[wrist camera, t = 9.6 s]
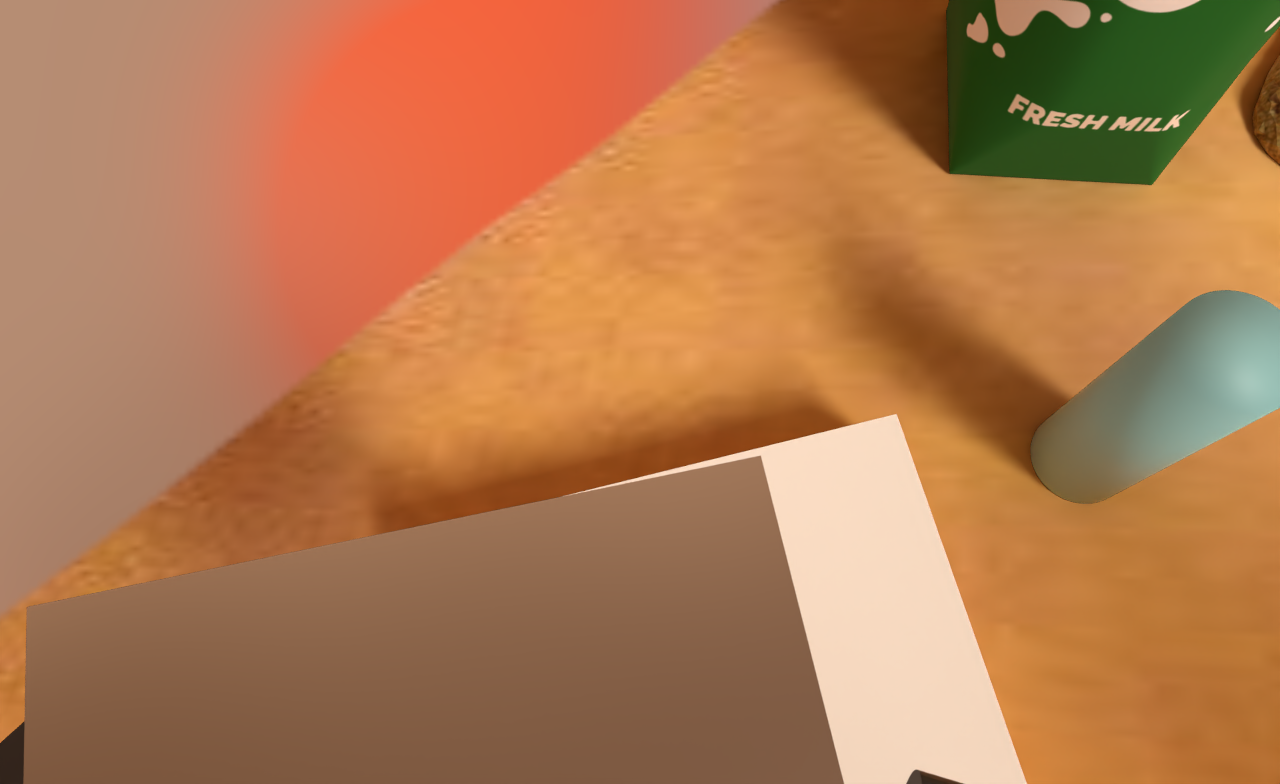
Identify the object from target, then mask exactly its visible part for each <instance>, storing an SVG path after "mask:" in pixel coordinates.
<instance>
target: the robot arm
mask: <svg viewBox="0 0 1280 784" xmlns="http://www.w3.org/2000/svg"><path fill="white" fill-rule="evenodd" d="M24 730H25V721H24V722H23V723H22V724H21V725H20V726H19V727H18V728H17V729H15V730H14V731H13V732H12V733H11V734H10V735H9V736H8V737H7V738H5V739H4V740H3V741H2V742H1V743H0V784H23V780H24ZM906 784H964V783H960V782H957V781H954V780H950V779H947V778H944V777H940V776H937V775H934V774H930V773H927V772H924V771H920V770H917V769H916V770H914V771H913V772H912V773H911V775H910V777H909V779H908V781H907V783H906Z"/></svg>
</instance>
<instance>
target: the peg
mask: <svg viewBox="0 0 1280 784" xmlns="http://www.w3.org/2000/svg"><path fill="white" fill-rule="evenodd" d="M1279 408H1280V310H1279V309H1278V308H1277V307H1275V306H1274V305H1272V304H1271V303H1269V302H1267V301H1265V300H1264V299H1262V298H1259V297H1257V296H1254V295H1251V294H1248V293H1244V292H1239V291H1230V290H1222V291H1213V292H1209V293H1205V294H1202V295H1200V296H1198V297H1196V298H1194V299H1192V300H1191V301H1189V302H1188V303H1187V304H1185V305H1184V306H1183V307H1182V308H1181V309H1179V310H1178V311H1177V312H1176V313H1175V314H1173V315H1172V316H1171V317H1170V318H1169V319H1167V320H1166V321H1165V322H1164V323H1162V324H1161V325H1160V326H1159V327H1158V328H1156V329H1155V330H1154V331H1153V332H1152V333H1150V334H1149V335H1148V336H1147V337H1146V338H1144V339H1143V340H1142V341H1141V342H1139V343H1138V344H1137V345H1136V346H1135V347H1133V348H1132V349H1131V350H1130V351H1129V352H1127V353H1126V354H1125V355H1124V356H1123V357H1121V358H1120V359H1119V360H1118V361H1117V362H1115V363H1114V364H1113V365H1112V366H1110V367H1109V368H1108V369H1107V370H1106V371H1104V372H1103V373H1102V374H1101V375H1100V376H1098V377H1097V378H1096V379H1095V380H1094V381H1092V382H1091V383H1090V384H1089V385H1088V386H1086V387H1085V388H1084V389H1083V390H1081V391H1080V392H1079V393H1078V394H1077V395H1075V396H1074V397H1073V398H1072V399H1071V400H1069V401H1068V402H1067V403H1066V404H1065V405H1063V406H1062V407H1061V408H1060V409H1059V410H1057V411H1056V412H1055V413H1054V414H1052V415H1051V416H1050V417H1049V418H1048V419H1046V420H1045V421H1044V422H1043V423H1042V424H1041V425H1040V426H1039V427H1038V429H1037V430H1036V432H1035V433H1034V436H1033V438H1032V442H1031V449H1030V453H1031V461H1032V465H1033V468H1034V470H1035V472H1036V474H1037V476H1038V477H1039V479H1040V480H1041V482H1042V483H1043V484H1044V485H1045V486H1046V487H1047V488H1048V489H1049V490H1050V491H1052V492H1053V493H1054V494H1056V495H1057V496H1059V497H1061V498H1063V499H1065V500H1068V501H1071V502H1075V503H1083V504H1089V503H1096V502H1100V501H1103V500H1105V499H1107V498H1109V497H1111V496H1113V495H1115V494H1117V493H1119V492H1121V491H1123V490H1125V489H1127V488H1128V487H1130V486H1132V485H1134V484H1136V483H1138V482H1140V481H1142V480H1144V479H1146V478H1147V477H1149V476H1151V475H1153V474H1155V473H1157V472H1159V471H1161V470H1163V469H1165V468H1166V467H1168V466H1170V465H1172V464H1174V463H1176V462H1178V461H1180V460H1182V459H1184V458H1185V457H1187V456H1189V455H1191V454H1193V453H1195V452H1197V451H1199V450H1201V449H1203V448H1204V447H1206V446H1208V445H1210V444H1212V443H1214V442H1216V441H1218V440H1220V439H1222V438H1223V437H1225V436H1227V435H1229V434H1231V433H1233V432H1235V431H1237V430H1239V429H1241V428H1242V427H1244V426H1246V425H1248V424H1250V423H1252V422H1254V421H1256V420H1258V419H1260V418H1262V417H1263V416H1265V415H1267V414H1269V413H1271V412H1273V411H1275V410H1277V409H1279Z"/></svg>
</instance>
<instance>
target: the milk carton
mask: <svg viewBox="0 0 1280 784" xmlns="http://www.w3.org/2000/svg"><path fill="white" fill-rule="evenodd" d="M946 20H947V71H948V122H949V172H950V174H967V175H985V176H1002V177H1020V178H1038V179H1056V180H1074V181H1092V182H1110V183H1128V184H1147V185H1152V184H1153V183H1154V182H1155V180H1156V179H1157V178H1158V176H1159V175H1160V174H1161V173H1162V171H1163V170H1164V169H1165V167H1166V166H1167V165H1168V164H1169V162H1170V161H1171V160H1172V159H1173V157H1174V156H1175V155H1176V154H1177V152H1178V151H1179V150H1180V149H1181V147H1182V146H1183V145H1184V144H1185V142H1186V141H1187V140H1188V138H1189V137H1190V136H1191V135H1192V133H1193V132H1194V131H1195V130H1196V128H1197V127H1198V126H1199V125H1200V123H1201V122H1202V121H1203V120H1204V118H1205V117H1206V116H1207V115H1208V113H1209V112H1210V111H1211V109H1212V108H1213V107H1214V106H1215V104H1216V103H1217V102H1218V101H1219V99H1220V98H1221V97H1222V96H1223V94H1224V93H1225V92H1226V90H1227V89H1228V88H1229V87H1230V85H1231V84H1232V83H1233V82H1234V80H1235V79H1236V78H1237V76H1238V75H1239V74H1240V73H1241V71H1242V70H1243V69H1244V67H1245V66H1246V65H1247V64H1248V62H1249V61H1250V60H1251V59H1252V58H1253V57H1254V56H1255V54H1256V53H1257V52H1258V51H1259V50H1260V49H1261V47H1262V46H1263V45H1264V44H1265V43H1266V42H1267V40H1268V39H1269V38H1270V37H1271V36H1272V35H1273V33H1274V32H1275V31H1276V30H1277V29H1278V28H1279V27H1280V0H949V4H948V7H947V10H946Z"/></svg>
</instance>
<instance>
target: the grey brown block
mask: <svg viewBox="0 0 1280 784" xmlns="http://www.w3.org/2000/svg"><path fill="white" fill-rule="evenodd" d="M23 784H844V781H843V777H842V773H841V769H840V765H839V761H838V758H837V754H836V750H835V746H834V742H833V738H832V734H831V730H830V726H829V722H828V718H827V714H826V710H825V706H824V702H823V698H822V695H821V691H820V687H819V683H818V679H817V675H816V671H815V667H814V663H813V659H812V655H811V651H810V647H809V643H808V639H807V635H806V631H805V628H804V624H803V620H802V616H801V612H800V608H799V604H798V600H797V596H796V592H795V588H794V584H793V580H792V576H791V572H790V568H789V565H788V561H787V557H786V553H785V549H784V545H783V541H782V537H781V533H780V529H779V525H778V521H777V517H776V513H775V509H774V505H773V502H772V498H771V494H770V490H769V486H768V482H767V478H766V474H765V470H764V466H763V462H762V458H761V456H756V457H751V458H746V459H742V460H737V461H732V462H727V463H722V464H717V465H713V466H708V467H703V468H698V469H693V470H688V471H683V472H679V473H674V474H669V475H664V476H659V477H654V478H650V479H645V480H640V481H635V482H630V483H625V484H620V485H616V486H611V487H606V488H601V489H596V490H591V491H587V492H582V493H577V494H572V495H567V496H562V497H557V498H553V499H548V500H543V501H538V502H533V503H528V504H524V505H519V506H514V507H509V508H504V509H499V510H494V511H490V512H485V513H480V514H475V515H470V516H465V517H461V518H456V519H451V520H446V521H441V522H436V523H432V524H427V525H422V526H417V527H412V528H407V529H402V530H398V531H393V532H388V533H383V534H378V535H373V536H369V537H364V538H359V539H354V540H349V541H344V542H339V543H335V544H330V545H325V546H320V547H315V548H310V549H306V550H301V551H296V552H291V553H286V554H281V555H276V556H272V557H267V558H262V559H257V560H252V561H247V562H243V563H238V564H233V565H228V566H223V567H218V568H213V569H209V570H204V571H199V572H194V573H189V574H184V575H180V576H175V577H170V578H165V579H160V580H155V581H150V582H146V583H141V584H136V585H131V586H126V587H121V588H117V589H112V590H107V591H102V592H97V593H92V594H88V595H83V596H78V597H73V598H68V599H63V600H58V601H54V602H49V603H44V604H39V605H34V606H29V607H27V629H26V679H25V730H24V780H23Z"/></svg>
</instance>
